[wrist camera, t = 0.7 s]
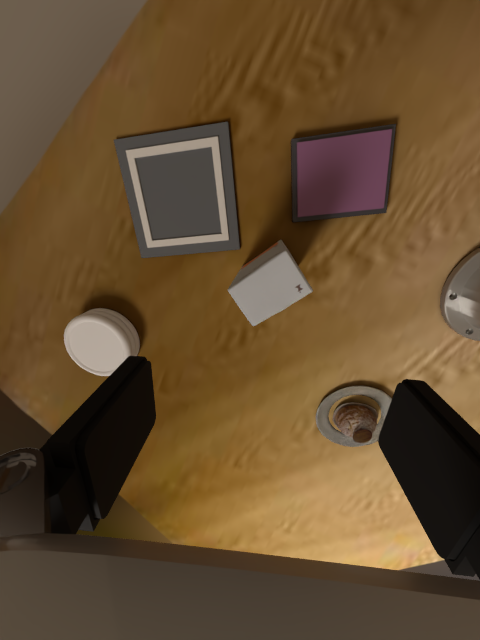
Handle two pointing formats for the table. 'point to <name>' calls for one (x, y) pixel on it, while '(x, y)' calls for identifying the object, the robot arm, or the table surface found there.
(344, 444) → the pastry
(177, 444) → the table surface
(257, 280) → the skincare box
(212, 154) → the mat
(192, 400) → the table surface
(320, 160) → the ink pad
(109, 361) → the white round disc
